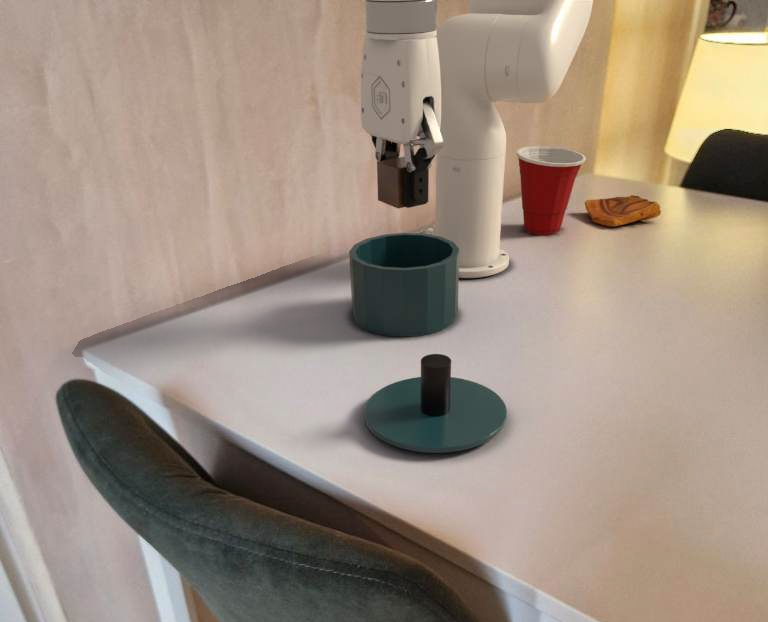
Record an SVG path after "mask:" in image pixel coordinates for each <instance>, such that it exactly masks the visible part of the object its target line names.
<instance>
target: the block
mask: <svg viewBox="0 0 768 622" xmlns="http://www.w3.org/2000/svg"><path fill="white" fill-rule="evenodd" d="M429 169H430V168H429ZM429 169H428V190H429V184H430V183H429V176H430V174H429V171H430V170H429ZM406 170H407V169H406V163H405V156H399V158H394V159H388V160H383V161H377V160H376V174H377V175H376V178H377V181H376V182H377V201H378V202H381V203H383V204H386V205H387V206H388V205H389V206H391V207H393V208H395V209H402V208H405V207H404V206H403V171H406Z"/></svg>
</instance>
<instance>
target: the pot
mask: <svg viewBox="0 0 768 622" xmlns="http://www.w3.org/2000/svg"><path fill="white" fill-rule="evenodd" d="M459 254H460V249H459V248H458V247H457V246H456V244H455V243H454V242H452V241H450V240H447V239H445V238H443V237H439V236H434V235H429V234H425V233H420V232H419V233H416V232H397V233H386V234H381V235H376V236H372V237H368V238H365V239H363V240H360V241H359V242H357V243H355V244H353V245H352V247H351V248H350V250H349V251H348V257H349V259H348V260H349V276H350V291H351V292H350V294H351V295H350V296H351V310H352V314H353V315H352V316H353V317H352V318H353V321H354V323H355V324H356V325H357V326H359V327H360V328H362V329H363V330H365V331H367V332H369V333H373V334H376V335H379V336H388V337H395V338H396V337H399V338H402V337H403V338H405V337H406V338H408V337H419V336H426V335H431V334H434V333H437V332H440V331H443V330H444V329H446V328H448V327H450V326H451V325H452V324H453V323H455V321H456V319H457V315H458V308H459V283H460V281H459V279H460V278H459Z"/></svg>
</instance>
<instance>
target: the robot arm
mask: <svg viewBox="0 0 768 622" xmlns="http://www.w3.org/2000/svg"><path fill="white" fill-rule="evenodd" d="M364 3H365V4H364V7H365V33H366V34H365V35H364V38H363V39H364V40H363V47H362V56H361V73H360V75H361V76H360V77H361V79H360V119H361V127H362V129H363V130H364V132H366V134H368V135H369V137H370V138H371V142H372V144H373V146H374V149H375V150H374V151H375V153H374V156H375V160H376V162H377V161H383V160H388V159H394V158H399V157H400V155H401V154H400V153H401V145H402V147H403V153H404V157H405V163H406V169H407V170H406V171H403V206H404V207H403V208H407V209H409V208H413V207H418V206H422V205H426V204H428V203H429V189H428V169H431V167H432V161H433V160H434V158H435V157H436V158H435V159H436V163H435V164H436V165H435V166H436V167H435V168H436V169H435V174H436V175H435V222H434V224H433V225H432V228H431V227H428V228H427V229H426V230H425V233H424V234H429V235H434V236H439V237H443V238H445V239H447V240H450V241H452V242H454V243H455V244H456V246H457V247H458V248H459V249H460V254H459V279H477V278H484V277H489V276H494V275H497V274H500V273H502V272H503V271H505V270H506V269H507V268H508V267H509V264H510V255H509V254H508V253H507V251H506V250H504V249H502V248H501V247H500V246H501V245H500V244H501V229H502V214H503V212H502V211H503V198H504V186H505V185H504V182H505V167H506V154H507V153H506V152H507V133H506V129H505V125H504V122H503V120H502V117H501V116H500V114H499V111H498V110H497V108H496V106H495V104H494V102H502V103H518V104H519V103H520V104H541V103H545V102H547V101H549V100H550V99H553V97H554V96H555V95H556V94H557V92H558V90H559V89H560V87H561V86H562V84H563V81H564V80H565V78H566V76H567V73H568V70H569V68H570V66H571V64H572V62H573V59H574V57H575V55H576V53H577V51H578V48H579V46H580V45H581V42H582V40H583V38H584V35H585V33H586V30H587V27H588V25H589V22H590V18H591V15H592V10H593V4H594V0H469V5H468V13H461V14H458V15H455V16H452V17H449V18H448V19H446V20H444V21H443V22H442V23H441V24H440V25H439V26H438V0H364ZM417 137H419V138H417ZM417 146H419V148H418V149H417V150H416V152H415V149H414V147H417Z"/></svg>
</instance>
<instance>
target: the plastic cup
mask: <svg viewBox="0 0 768 622" xmlns="http://www.w3.org/2000/svg"><path fill="white" fill-rule="evenodd" d="M516 156H517V158H518V167H519V174H520V191H521V193H520V194H521V208H522V216H523V226H524V230H525V232H527V233H529V234H532V235H539V236H550V235H556V234H557V233H559V232H560V230H561V227H562V225H563V221H564V218H565V213H566V211H567V209H568V205H569V202H570V199H571V195H572V192H573V188H574V185H575V182H576V178H577V176H578V173H579V172H580V169H581V167H582V165H583V164H584V163H585V161H586V159H587V157H586V156H585V155H584V154H582V153H580V152H578V151H575V150H571V149H567V148H564V147H556V146H548V145H547V146H544V145H533V146H524V147H520V148H518V149H517V150H516Z"/></svg>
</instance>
